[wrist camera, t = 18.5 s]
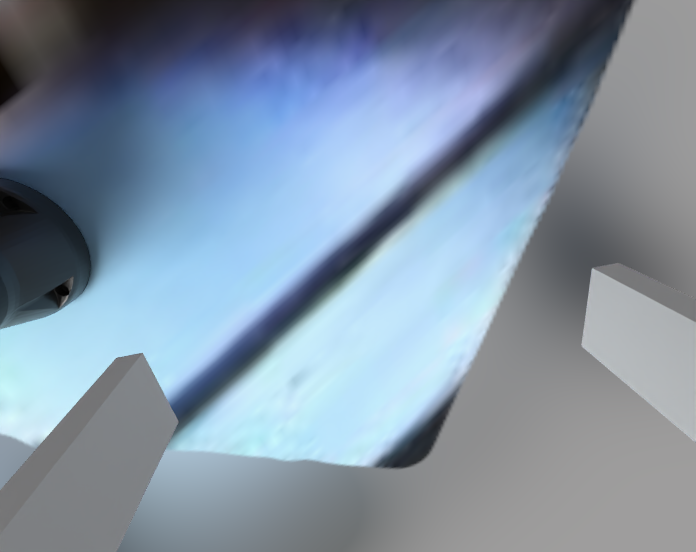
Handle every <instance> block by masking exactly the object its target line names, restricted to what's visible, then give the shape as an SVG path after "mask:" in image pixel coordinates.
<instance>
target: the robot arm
mask: <svg viewBox="0 0 696 552" xmlns="http://www.w3.org/2000/svg"><path fill="white" fill-rule="evenodd" d="M89 275H90V256H89V252H88V248H87V245H86V243H85V241H84V238H83V236H82V235H81V233H80V231H79V230H78V228H77V226H76V225H75V224H74V222H73V221H72V220H71V219H70V218H69V216H68V215H67V214H66V213H65V212H64V211H63V210H62V209H61V208H60V207H58V206H57V205H56V204H55V203H54V202H52V201H51V200H50V199H48V198H47V197H45V196H44V195H42V194H40V193H39V192H37V191H35V190H33V189H31V188H29V187H27V186H25V185H22V184H20V183H17V182H14V181H11V180H7V179H2V178H0V329H3V328H7V327H11V326H14V325H18V324H22V323H25V322H29V321H33V320H36V319H40V318H44V317H46V316H49V315H51V314H53V313H55V312H57V311H59V310H61V309H62V308H64V307H65V306H66V305H68V304H69V303H71V302H72V301H73V300H75V299H76V298H77V297H78V296H79V295H80V294H81V293H82V291H83V290H84V288H85V287H86V285H87V282H88V279H89ZM582 347H583V348H584V349H586V350H587V351H588V352H589V353H591V355H593V356H594V357H595V358H596V359H598V360H599V361H600V362H601V363H602V364H603V365H604V366H606V367H607V368H608V369H609V370H610V371H612V372H613V373H614V374H615V375H616V376H618V377H619V378H620V379H621V380H622V381H623V382H625V383H626V384H627V385H628V386H629V387H630V388H632V389H633V390H634V391H635V392H636V393H638V394H639V395H640V396H641V397H642V398H643V399H645V400H646V401H647V402H648V403H649V404H651V405H652V406H653V407H654V408H655V409H656V410H658V411H659V412H660V413H661V414H662V415H664V416H665V417H666V418H667V419H668V420H669V421H671V422H672V423H673V424H674V425H675V426H677V427H678V428H679V429H680V430H681V431H682V432H684V433H685V434H686V435H687V436H688V437H690V438H691V439H692V440H693V441H694V442H696V299H695V298H693V297H691V296H689V295H687V294H685V293H682V292H680V291H678V290H676V289H674V288H672V287H669V286H667V285H665V284H663V283H661V282H659V281H656V280H654V279H652V278H650V277H648V276H646V275H643V274H641V273H639V272H637V271H635V270H632V269H630V268H628V267H626V266H624V265H622V264H620V263H616V264H611V265H605V266H601V267H595V268H592V273H591V280H590V288H589V295H588V303H587V310H586V317H585V324H584V333H583V339H582ZM177 424H178V420H177V418H176V416H175V414H174V412H173V410H172V408H171V406H170V405H169V403H168V401H167V399H166V397H165V395H164V393H163V391H162V389H161V387H160V385H159V383H158V381H157V380H156V378H155V376H154V374H153V372H152V370H151V368H150V366H149V364H148V362H147V360H146V358H145V357H144V355H143V353H140V354H134V355H129V356H124V357H118V358H116V359H115V360H114V361H113V362H112V364H111V365H110V366H109V367H108V368H107V369H106V370H105V372H104V373H103V374H102V375H101V376H100V377H99V378H98V380H97V381H96V382H95V383H94V384H93V385H92V386H91V387H90V389H89V390H88V391H87V392H86V393H85V394H84V395H83V397H82V398H81V399H80V400H79V401H78V402H77V403H76V405H75V406H74V407H73V408H72V409H71V410H70V411H69V412H68V414H67V415H66V416H65V417H64V418H63V419H62V420H61V422H60V423H59V424H58V425H57V426H56V427H55V428H54V430H53V431H52V432H51V433H50V434H49V435H48V436H47V437H46V439H45V440H44V441H43V442H42V443H41V444H40V445H39V447H38V448H37V449H36V450H35V451H34V452H33V454H32V455H31V456H30V457H29V458H28V459H27V460H26V461H25V463H24V464H23V465H22V466H21V467H20V468H19V469H18V471H17V472H16V473H15V474H14V475H13V476H12V477H11V479H10V480H9V481H8V482H7V483H6V484H5V485H4V487H3V488H2V489H1V490H0V552H116V551H117V549H118V547H119V545H120V543H121V541H122V539H123V537H124V535H125V532H126V530H127V528H128V526H129V524H130V522H131V520H132V518H133V516H134V514H135V511H136V510H137V508H138V505H139V503H140V501H141V499H142V497H143V495H144V493H145V491H146V489H147V487H148V485H149V483H150V480H151V478H152V476H153V474H154V472H155V470H156V468H157V466H158V464H159V462H160V460H161V458H162V455H163V453H164V451H165V449H166V447H167V445H168V443H169V441H170V439H171V437H172V435H173V433H174V430H175V428H176V426H177Z"/></svg>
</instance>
